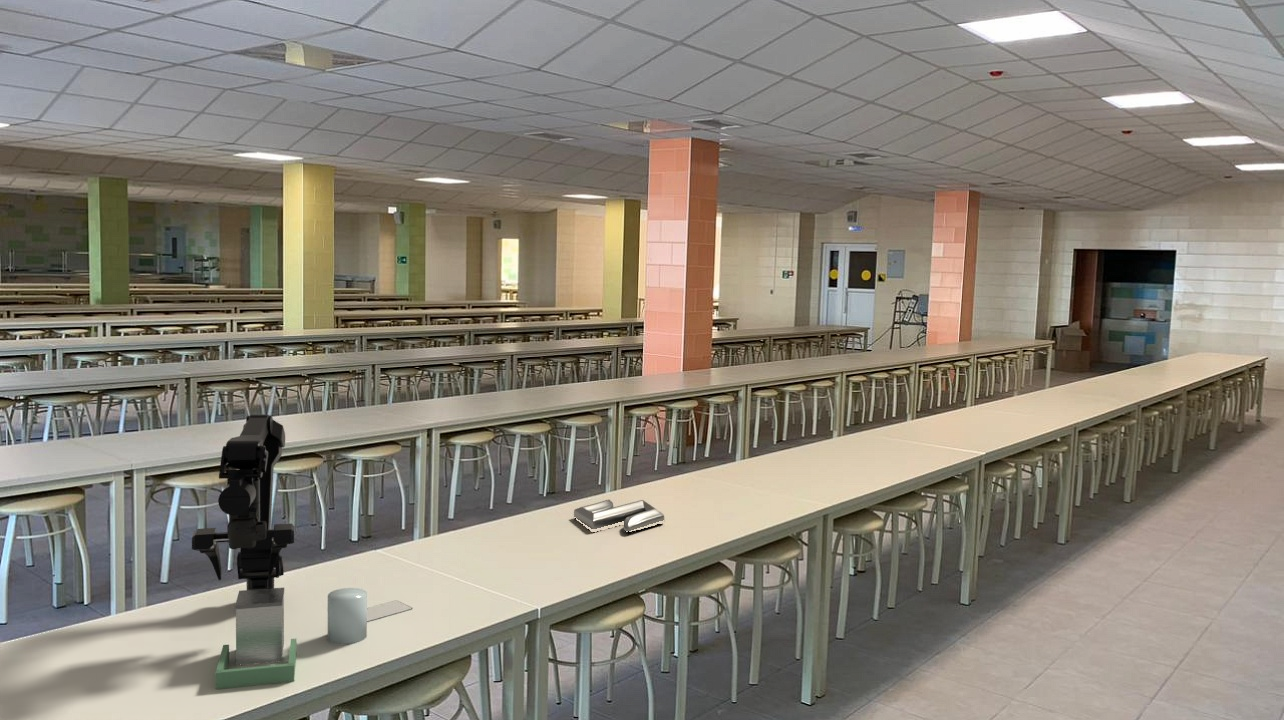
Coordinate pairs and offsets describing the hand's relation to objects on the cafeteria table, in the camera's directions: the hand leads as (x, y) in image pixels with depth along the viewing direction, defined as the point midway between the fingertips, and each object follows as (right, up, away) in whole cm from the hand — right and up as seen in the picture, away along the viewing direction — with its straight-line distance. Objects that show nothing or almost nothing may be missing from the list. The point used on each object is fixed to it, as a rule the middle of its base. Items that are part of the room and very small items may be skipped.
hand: (245, 577), depth 185 cm
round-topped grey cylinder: (+20, -13, +2) cm, 24 cm away
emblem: (+73, -6, +95) cm, 120 cm away
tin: (+6, -13, -8) cm, 16 cm away
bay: (+9, -14, -14) cm, 22 cm away
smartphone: (+22, -12, +15) cm, 29 cm away
